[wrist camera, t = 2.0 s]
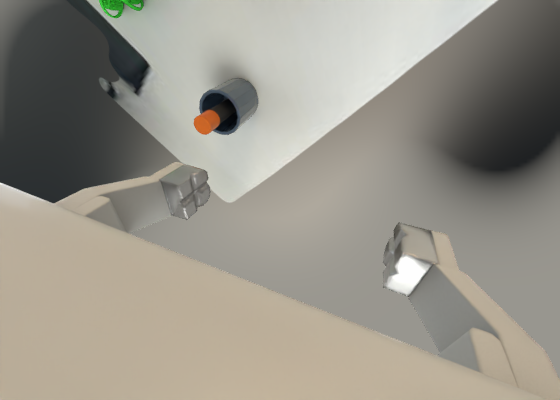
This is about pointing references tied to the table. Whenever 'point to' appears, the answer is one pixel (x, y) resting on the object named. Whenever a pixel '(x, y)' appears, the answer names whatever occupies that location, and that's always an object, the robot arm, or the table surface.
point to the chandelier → (119, 5)
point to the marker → (214, 117)
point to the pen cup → (241, 98)
